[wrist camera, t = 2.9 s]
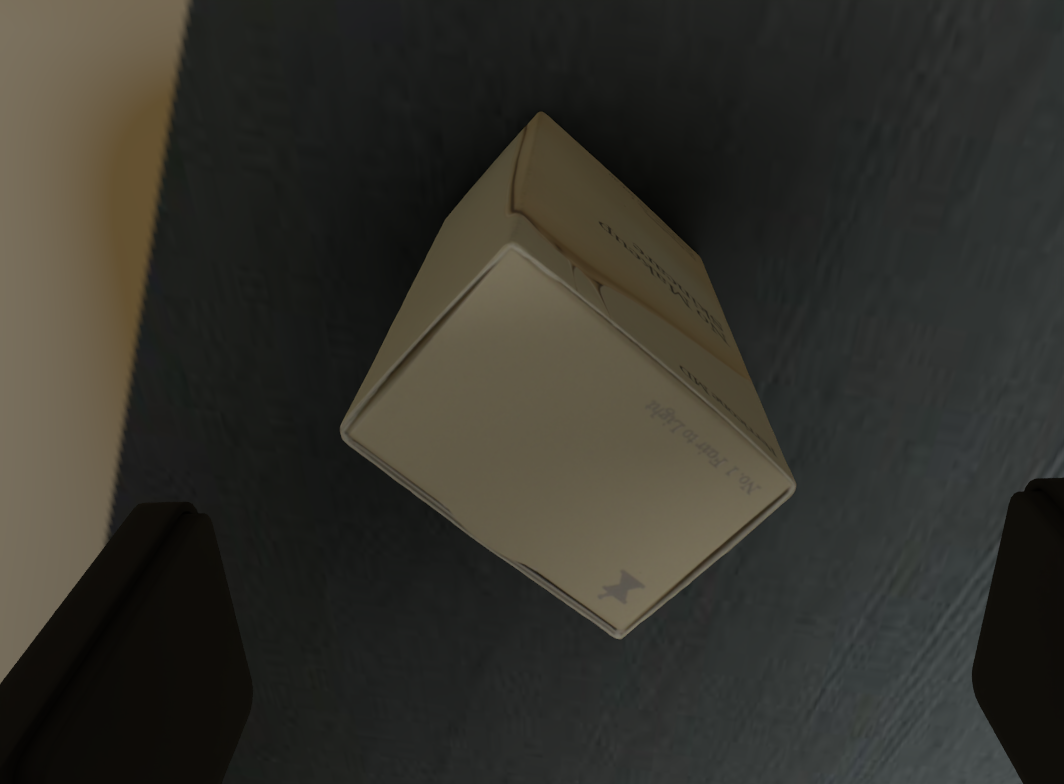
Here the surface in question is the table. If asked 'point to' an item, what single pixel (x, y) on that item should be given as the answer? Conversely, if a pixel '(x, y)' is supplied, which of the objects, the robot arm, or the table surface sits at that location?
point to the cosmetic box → (572, 389)
